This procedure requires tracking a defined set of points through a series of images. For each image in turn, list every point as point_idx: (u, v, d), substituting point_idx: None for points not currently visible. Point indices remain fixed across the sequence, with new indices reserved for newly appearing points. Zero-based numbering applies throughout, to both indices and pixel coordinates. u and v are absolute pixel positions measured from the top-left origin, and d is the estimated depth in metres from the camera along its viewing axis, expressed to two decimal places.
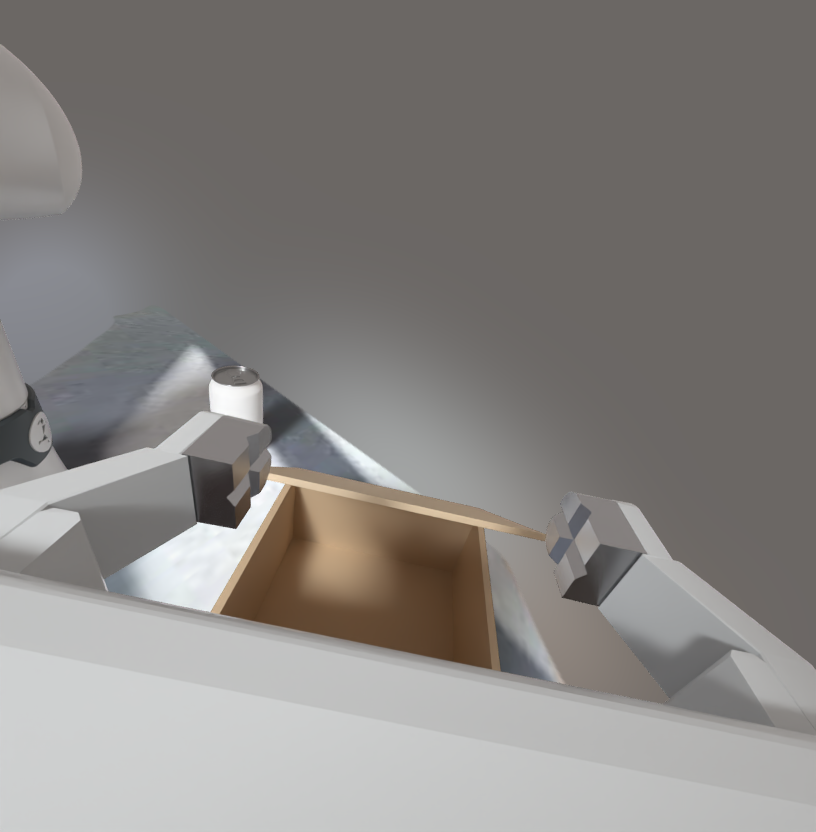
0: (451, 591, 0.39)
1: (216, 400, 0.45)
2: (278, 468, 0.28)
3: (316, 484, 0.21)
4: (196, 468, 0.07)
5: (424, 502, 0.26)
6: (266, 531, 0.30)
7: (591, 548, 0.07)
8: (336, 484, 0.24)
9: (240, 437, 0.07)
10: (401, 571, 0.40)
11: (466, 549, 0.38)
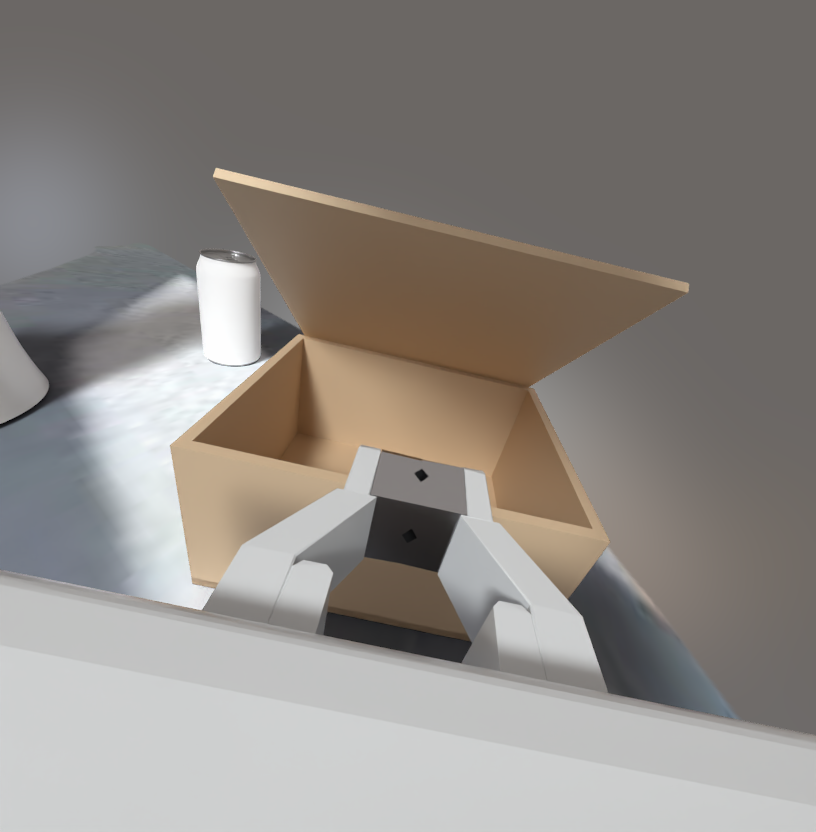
0: (492, 493, 0.32)
1: (204, 281, 0.38)
2: None
3: (344, 200, 0.14)
4: (380, 508, 0.07)
5: None
6: (265, 375, 0.23)
7: None
8: None
9: (409, 474, 0.07)
10: None
11: (513, 436, 0.31)
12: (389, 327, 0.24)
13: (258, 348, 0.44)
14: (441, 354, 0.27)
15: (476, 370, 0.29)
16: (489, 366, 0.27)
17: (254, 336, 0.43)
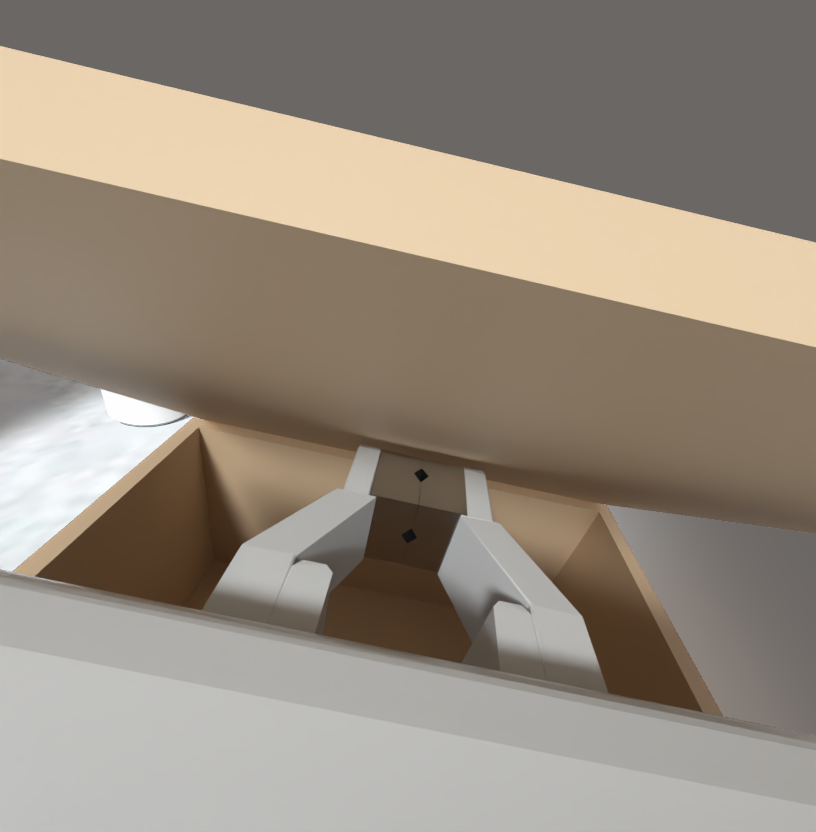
0: None
1: None
2: None
3: None
4: (380, 508, 0.07)
5: None
6: (55, 564, 0.10)
7: None
8: None
9: (409, 474, 0.07)
10: (428, 624, 0.20)
11: (570, 583, 0.18)
12: (337, 440, 0.11)
13: None
14: None
15: (510, 483, 0.16)
16: (536, 487, 0.14)
17: None
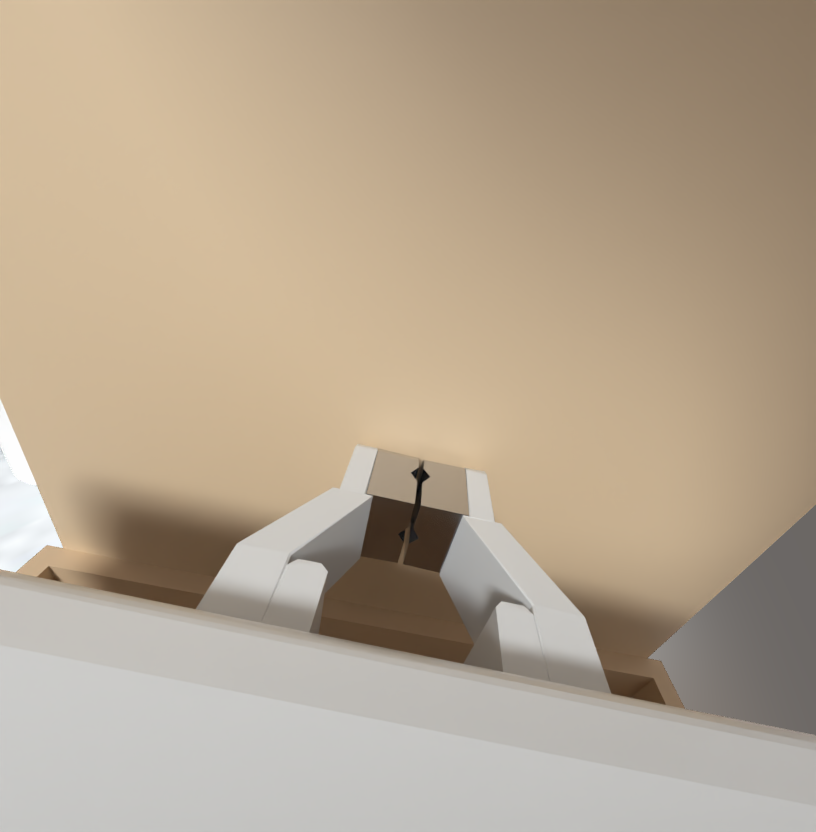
0: None
1: None
2: None
3: None
4: (377, 507, 0.07)
5: None
6: None
7: (418, 511, 0.07)
8: None
9: (406, 473, 0.07)
10: None
11: None
12: (301, 448, 0.08)
13: None
14: None
15: None
16: (561, 587, 0.10)
17: None
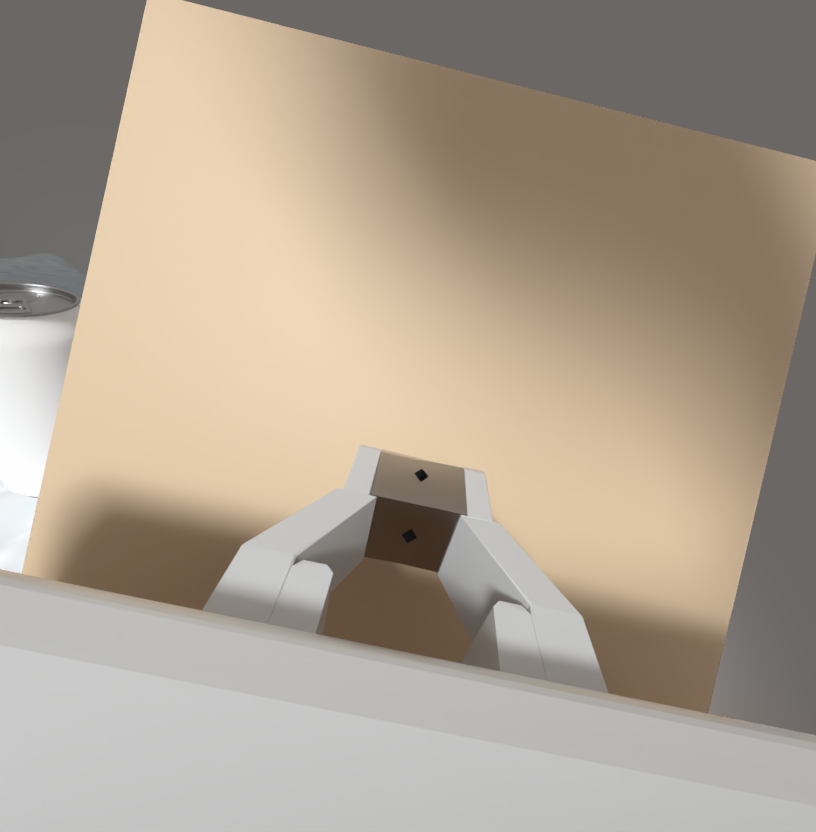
0: None
1: None
2: None
3: (339, 52, 0.10)
4: (381, 508, 0.07)
5: None
6: None
7: None
8: None
9: (409, 474, 0.07)
10: None
11: None
12: (327, 436, 0.10)
13: None
14: None
15: None
16: (581, 605, 0.10)
17: None
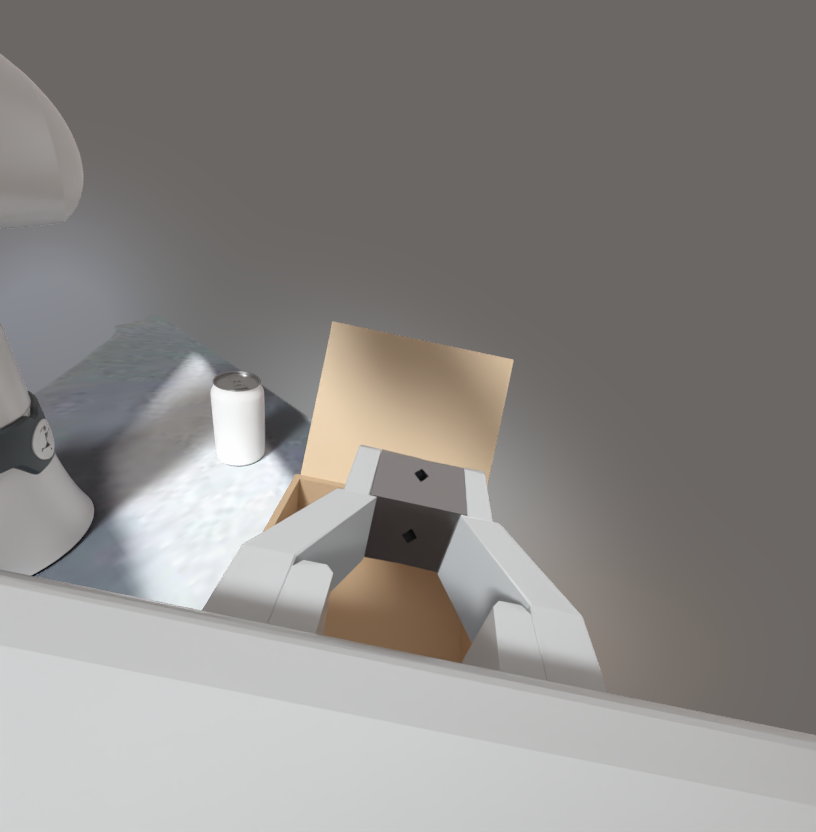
0: None
1: (218, 406, 0.45)
2: None
3: (380, 332, 0.37)
4: (381, 508, 0.07)
5: None
6: None
7: None
8: None
9: (409, 474, 0.07)
10: (406, 573, 0.40)
11: None
12: (379, 434, 0.37)
13: (263, 447, 0.52)
14: None
15: None
16: None
17: (259, 440, 0.50)
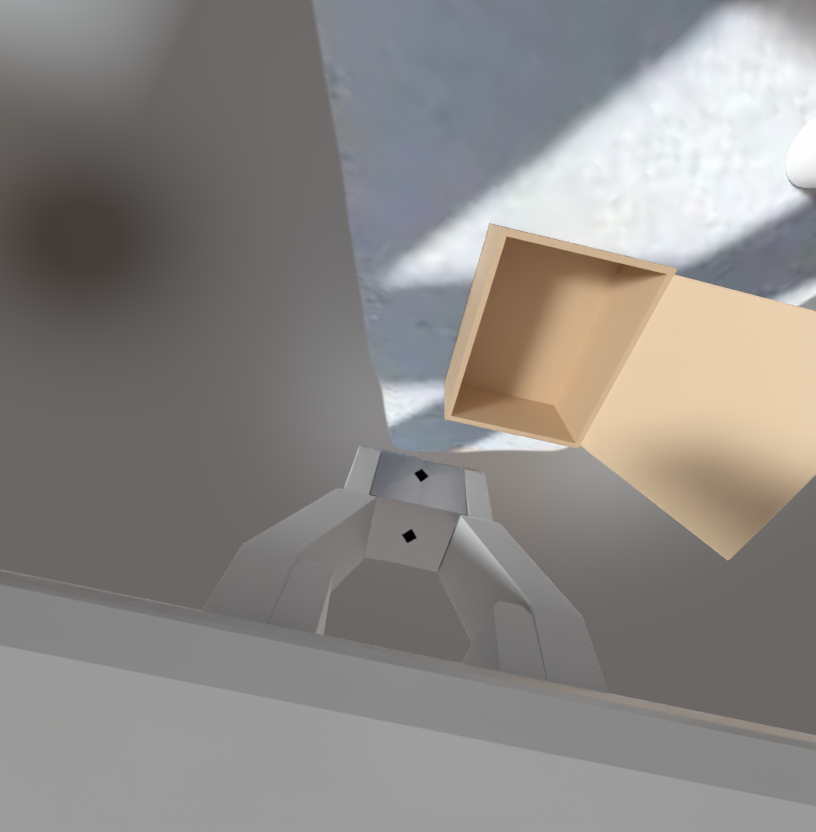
0: (537, 400, 0.49)
1: None
2: None
3: None
4: (381, 508, 0.07)
5: None
6: (590, 256, 0.32)
7: None
8: None
9: (409, 474, 0.07)
10: (562, 363, 0.47)
11: (557, 423, 0.45)
12: (690, 374, 0.31)
13: (813, 186, 0.35)
14: (638, 398, 0.35)
15: (609, 416, 0.38)
16: (617, 428, 0.37)
17: None
